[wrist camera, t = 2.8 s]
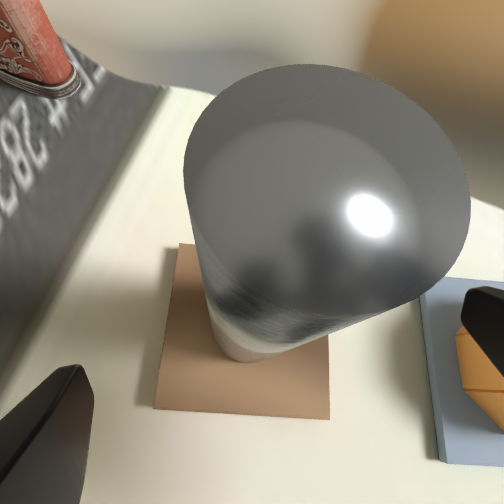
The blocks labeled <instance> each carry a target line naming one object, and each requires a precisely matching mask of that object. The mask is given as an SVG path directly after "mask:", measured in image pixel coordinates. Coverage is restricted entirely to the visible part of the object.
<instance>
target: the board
mask: <svg viewBox="0 0 504 504" xmlns="http://www.w3.org/2000/svg"><path fill="white" fill-rule="evenodd" d="M153 409H162V410H178V411H194V412H210V413H226V414H242V415H258V416H274V417H290V418H306V419H322V420H330V400H329V350H328V335H325V336H323V337H320V338H318V339H315V340H313V341H310V342H308V343H305V344H303V345H300V346H298V347H295V348H293V349H290V350H288V351H285V352H283V353H280V354H278V355H275V356H273V357H270V358H268V359H265V360H263V361H260V362H256V363H241V362H238V361H235V360H233V359H231V358H229V357H228V356H227V355H225V354H224V353H223V352H222V351H221V350H220V348H219V347H218V345H217V343H216V341H215V339H214V335H213V331H212V326H211V321H210V316H209V311H208V305H207V300H206V295H205V290H204V285H203V280H202V275H201V270H200V265H199V260H198V255H197V250H196V245H193V244H182V243H179V248H178V254H177V261H176V267H175V273H174V280H173V286H172V293H171V299H170V305H169V312H168V318H167V324H166V331H165V337H164V343H163V350H162V356H161V363H160V369H159V375H158V382H157V388H156V394H155V401H154V407H153Z"/></svg>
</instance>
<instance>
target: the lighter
mask: <svg viewBox="0 0 504 504" xmlns="http://www.w3.org/2000/svg"><path fill="white" fill-rule="evenodd" d="M0 78H1V79H2V80H4V81H6V82H7V83H10V84H12V85H14V86H17V87H19V88H21V89H24V90H26V91H28V92H31V93H34V94H37V95H41V96H44V97H47V98H50V99H57V100H58V99H64V98H67V97H69V96H71V95H73V94H74V93H75V92H76V91H77V90H78V89H79V87H80V85H81V79H80V76H79V74H78V72H77V70H76V68H75V66H74V65H73V63H72V62H70V61H69V60H68V58H67V56H66V54H65V52H64V50H63V48H62V46H61V44H60V42H59V40H58V38H57V36H56V34H55V32H54V29H53V28H52V26H51V23H50V21H49V19H48V17H47V15H46V13H45V11H44V9H43V7H42V5H41V3H40V1H39V0H0Z"/></svg>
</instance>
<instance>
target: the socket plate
mask: <svg viewBox="0 0 504 504" xmlns="http://www.w3.org/2000/svg"><path fill="white" fill-rule="evenodd" d="M479 286H490V287H494V288H498V289H502V290H504V282H497V281H486V280H474V279H463V278H452V277H443V278H442V279H441V280H440V281H439V282H438V283H436V284H435V285H434V286H433V287H432V288H431V289H430V290H428V291H427V292H425V293H423V294H422V295H420V296H419V298H420V306H421V314H422V323H423V331H424V339H425V347H426V355H427V363H428V371H429V379H430V387H431V395H432V403H433V411H434V419H435V427H436V435H437V444H438V452H439V460H440V461H442V462H445V463H447V464H463V465H481V466H499V467H504V377H503V376H502V375H501V374H500V372H499V371H498V370H497V369H496V367H495V366H494V365H493V364H492V362H491V361H490V360H489V358H488V357H487V356H486V355H485V353H484V352H483V351H482V349H481V348H480V347H479V346H478V344H477V343H476V342H475V341H474V339H473V338H472V337H471V335H470V334H469V333H468V332H467V330H466V329H465V328H464V326H463V325H462V323H461V320H460V314H461V310H462V306H463V301H464V297H465V294H466V292H467V290H468V289H470V288H474V287H479Z"/></svg>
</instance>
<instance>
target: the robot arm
mask: <svg viewBox="0 0 504 504" xmlns="http://www.w3.org/2000/svg"><path fill="white" fill-rule="evenodd" d="M460 320H461V323H462V325H463V326H464V328H465V329H466V330H467V332H468V333H469V334H470V335H471V337H472V338H473V339H474V341H475V342H476V343H477V344H478V346H479V347H480V348H481V349H482V351H483V352H484V353H485V355H486V356H487V357H488V358H489V360H490V361H491V362H492V364H493V365H494V366H495V367H496V369H497V370H498V371H499V372H500V374H501V375H502V376H503V377H504V290H502V289H498V288H494V287H490V286H479V287H474V288H470V289H468V290H467V292H466V294H465V297H464V301H463V306H462V310H461V314H460ZM93 408H94V394H93V391H92V388H91V386H90V383H89V380H88V378H87V375H86V373H85V370H84V368H83V367H82V366H81V365H79V364H75V365H70V366H64V367H60V368H58V369H57V370H55V371H54V372H53V373H52V374H51V375H50V376H49V377H48V378H46V379H45V380H44V381H43V382H42V383H41V384H40V385H39V386H38V387H37V388H35V389H34V390H33V391H32V392H31V393H30V394H29V395H28V396H27V397H26V398H24V399H23V400H22V401H21V402H20V403H19V404H18V405H17V406H16V407H14V408H13V409H12V410H11V411H10V412H9V413H8V414H7V415H6V416H5V417H3V418H2V419H1V420H0V504H79V503H80V498H81V494H82V489H83V484H84V479H85V472H86V465H87V457H88V449H89V441H90V433H91V424H92V416H93Z"/></svg>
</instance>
